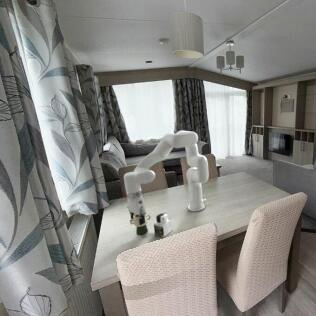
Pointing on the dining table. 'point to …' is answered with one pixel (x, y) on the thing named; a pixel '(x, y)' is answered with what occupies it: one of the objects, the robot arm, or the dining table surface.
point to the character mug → (142, 228)
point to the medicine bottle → (162, 225)
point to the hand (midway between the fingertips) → (138, 221)
